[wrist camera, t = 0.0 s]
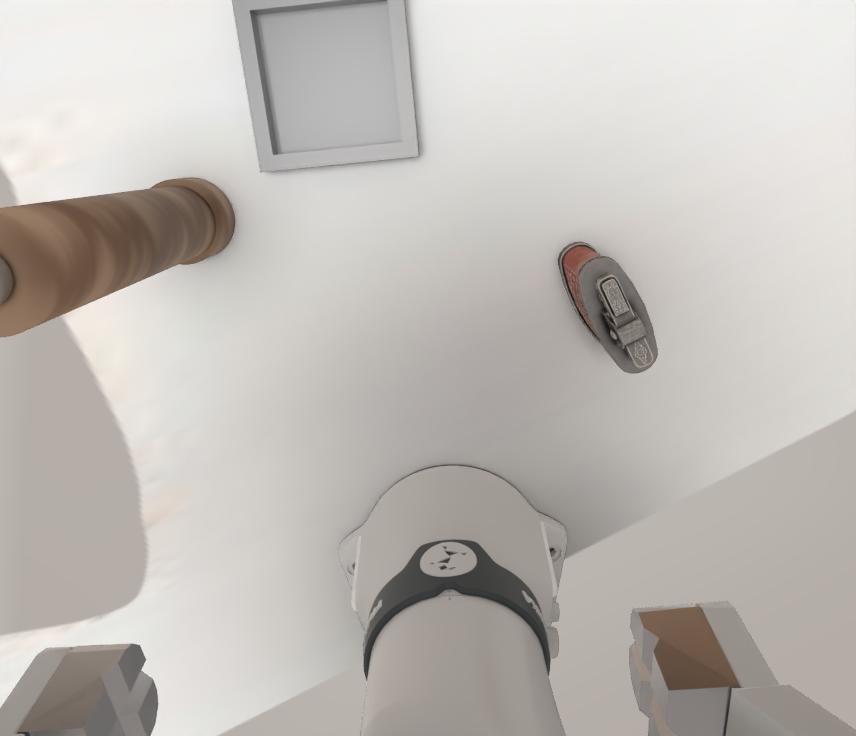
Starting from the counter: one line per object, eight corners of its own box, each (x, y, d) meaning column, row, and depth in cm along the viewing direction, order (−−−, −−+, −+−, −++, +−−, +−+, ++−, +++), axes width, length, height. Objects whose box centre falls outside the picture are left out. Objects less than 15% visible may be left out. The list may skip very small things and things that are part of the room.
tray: (419, 156, 45) (418, 156, 44) (267, 171, 46) (260, 172, 44) (402, -17, 42) (401, -25, 40) (240, 1, 43) (230, -7, 41)
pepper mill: (241, 254, 48) (50, 353, 24) (165, 261, 48) (-97, 367, 24) (226, 173, 46) (5, 197, 22) (148, 181, 46) (-152, 212, 23)
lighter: (635, 329, 49) (683, 371, 40) (593, 349, 50) (631, 396, 40) (590, 232, 47) (629, 253, 37) (547, 255, 47) (575, 281, 38)
